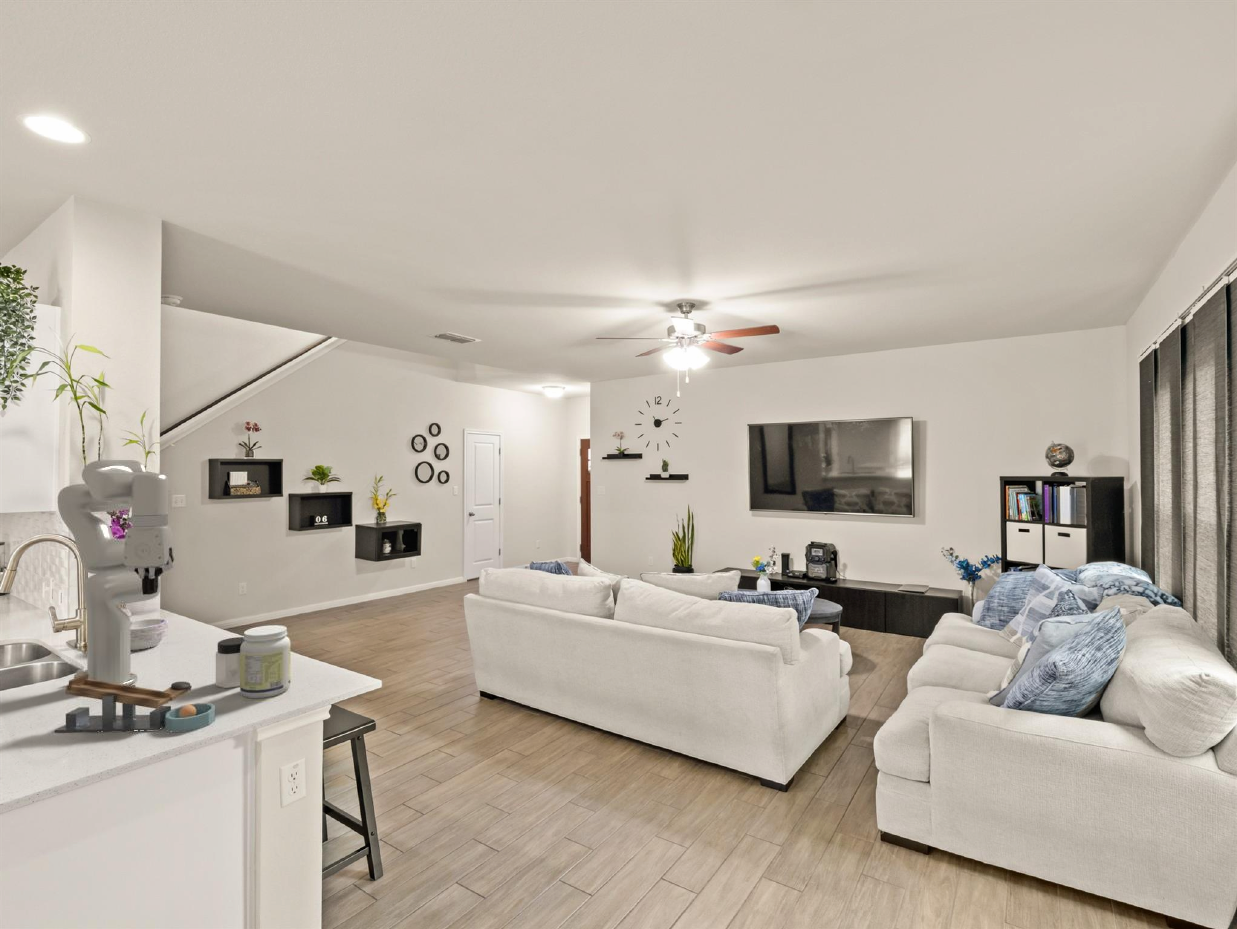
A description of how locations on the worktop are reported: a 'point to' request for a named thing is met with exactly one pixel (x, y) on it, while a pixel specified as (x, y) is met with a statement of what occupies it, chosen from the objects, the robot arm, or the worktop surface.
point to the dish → (190, 718)
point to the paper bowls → (147, 633)
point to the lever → (125, 692)
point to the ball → (187, 711)
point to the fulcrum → (113, 718)
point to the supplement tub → (265, 662)
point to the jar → (228, 662)
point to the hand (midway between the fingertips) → (150, 593)
